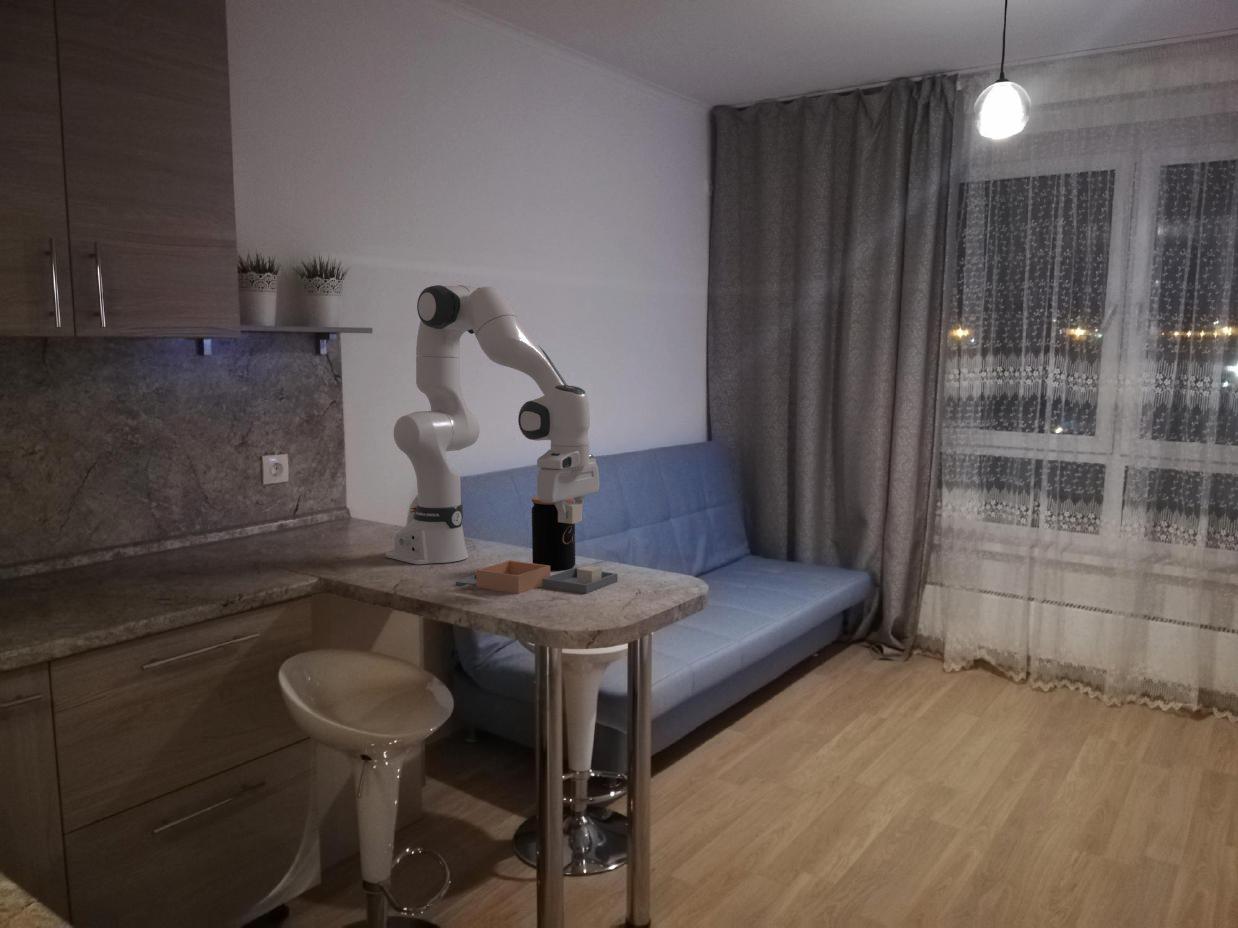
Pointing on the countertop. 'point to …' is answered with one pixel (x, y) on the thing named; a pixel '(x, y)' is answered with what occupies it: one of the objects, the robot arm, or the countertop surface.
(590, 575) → the stone
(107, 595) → the countertop surface
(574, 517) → the cream cube
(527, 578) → the terracotta bin
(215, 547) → the countertop surface
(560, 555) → the coffee jar
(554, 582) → the tray
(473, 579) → the tray lid
